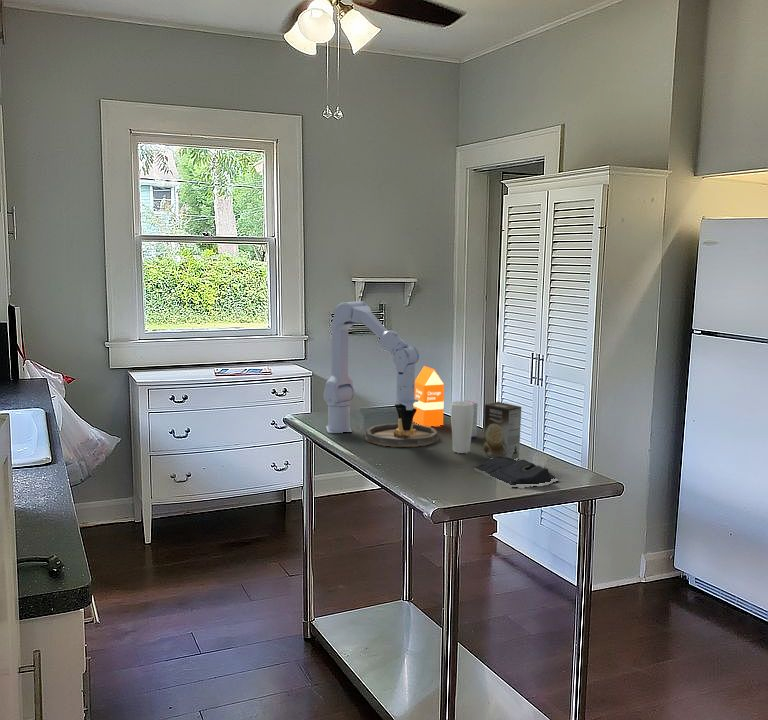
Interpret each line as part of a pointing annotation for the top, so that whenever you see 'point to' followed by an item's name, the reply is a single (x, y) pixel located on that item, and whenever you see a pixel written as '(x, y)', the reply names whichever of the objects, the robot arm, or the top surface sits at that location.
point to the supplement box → (474, 421)
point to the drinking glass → (462, 425)
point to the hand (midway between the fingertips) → (405, 428)
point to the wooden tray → (401, 436)
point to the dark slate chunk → (515, 471)
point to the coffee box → (502, 430)
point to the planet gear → (404, 432)
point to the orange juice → (429, 398)
